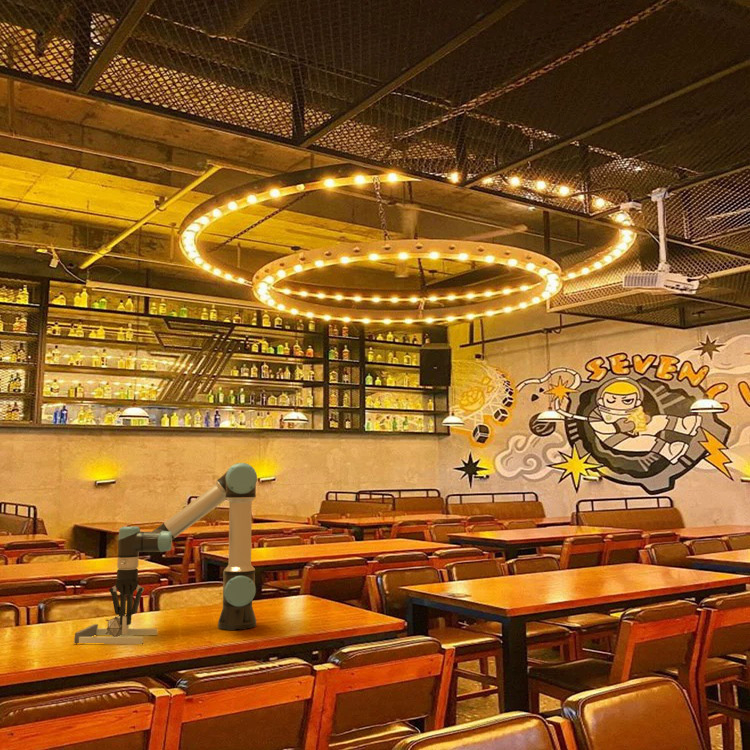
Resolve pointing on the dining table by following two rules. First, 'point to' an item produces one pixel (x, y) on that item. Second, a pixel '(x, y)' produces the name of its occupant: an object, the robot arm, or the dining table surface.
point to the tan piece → (92, 630)
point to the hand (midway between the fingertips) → (125, 633)
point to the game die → (114, 627)
